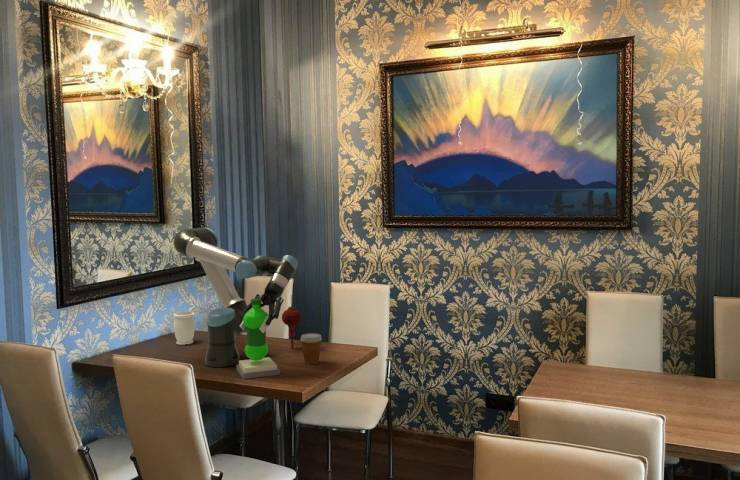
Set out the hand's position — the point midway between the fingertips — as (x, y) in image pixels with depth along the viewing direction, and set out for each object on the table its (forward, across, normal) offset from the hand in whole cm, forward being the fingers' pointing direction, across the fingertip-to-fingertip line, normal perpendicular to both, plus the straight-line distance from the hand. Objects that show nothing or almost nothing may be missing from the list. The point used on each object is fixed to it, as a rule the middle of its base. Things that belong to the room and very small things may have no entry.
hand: (251, 329), depth 258 cm
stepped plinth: (+11, 0, -15) cm, 19 cm away
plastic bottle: (+7, 0, -11) cm, 13 cm away
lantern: (-16, +13, -43) cm, 47 cm away
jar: (-3, +67, -30) cm, 74 cm away
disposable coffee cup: (-5, -10, -32) cm, 34 cm away
